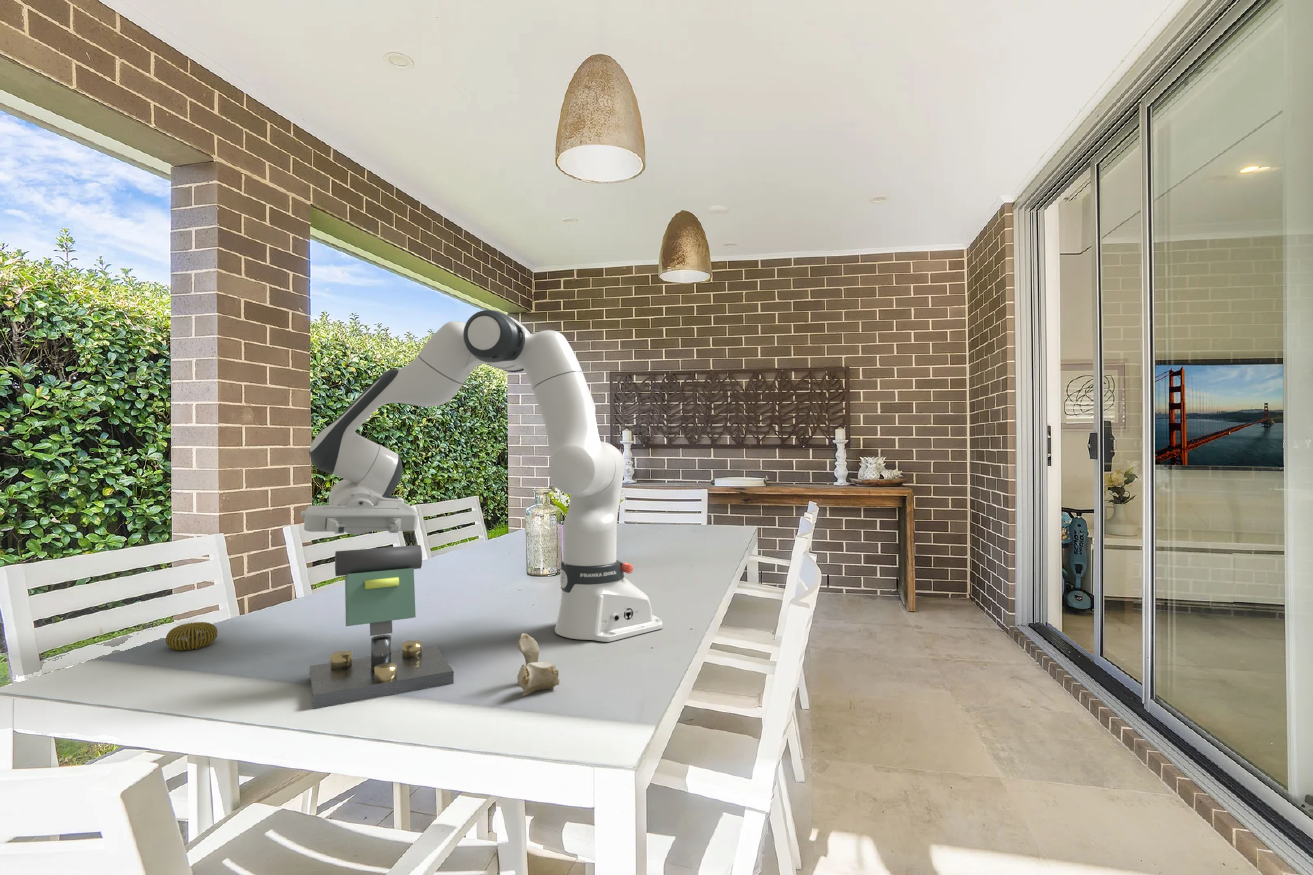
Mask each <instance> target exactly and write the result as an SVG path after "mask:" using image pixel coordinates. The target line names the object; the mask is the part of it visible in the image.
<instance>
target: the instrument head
mask: <svg viewBox="0 0 1313 875" xmlns="http://www.w3.org/2000/svg"><path fill="white" fill-rule="evenodd" d="M422 565H423V550H422V545H420V544H416V545H414V544H413V545H403V546H391V547H389V546H388V547H387V546H386V547H377V548H376V547H374V548H362V549H349V550H348V549H347V550H346V549H345V550H336V551H335V552H334V571H335V572H334V573H335V577H342V576H344V591H345V593H344V594H345V597H344V598H345V599H344V600H345V627H352V626H359V625H360V626H361V625H367V624H368V625H369V636H370V637H374V636H378V635H389V634H392V633H393V621H398V620H405V619H406V620H407V619H414V618H416V594H415V592H416V591H415V589H416V588H415V570H420V569H421V568H422V567H423V566H422Z"/></svg>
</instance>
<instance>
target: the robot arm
mask: <svg viewBox="0 0 1313 875" xmlns="http://www.w3.org/2000/svg"><path fill="white" fill-rule="evenodd" d="M484 364H485V365H486V364H487V366H490V367H492V368H495V369H498V370H501V371H503V372H504V371H505V372H509V373H520V372H525V373H526V375H527V378H528V380H529V383H530V385H531V389H532V391H533V395H534V396H535V400H536V402H537V404H538V408H539V411H540V413H541V417H542V419H543V422H544V425H545V430H546V434H547V436H546V437H547V440H548V441H547V443H548V448H549V455H550V461H549V464H548V465H549V466H548V474H549V478H550V480H551V483H552V484H553V486H554V487H555V488H556V489H557V490H558V491H561V493H564V494H566V495H570V499H569V500H570V501H569V505H568V509H567V512H566V515H565V518H564V521H563V525H562V561H561V562H560V572H559V573H560V575H559V578H560V579H559V583H560V589H561V596H560V598H561V599H560V604H559V611H558V616H557V620H556V625H555V627H554V632H555V634H557V635H559V636H560V637H564V638H568V639H571V640H572V639H574V640H587V641H589V640H591V641H598V642H605V643H606V642H607V643H609V642H614V641H617V640H621V639H625V638H629V637H634V636H638V635H641V634H644V633H645V634H646V633H650V632H653V631H657V630H660V629H663V628H664V625H663V624H664V623H663V621H662V619H661V618H659V617H658V616H656V615H654V614H653V610H652V605H651V601H650V598H649V596H648V595H647V594H646V593H645V592H644V591H642V590H641V589H640V588H639V587H637V586H635V585H634V584H633V583H632V582H630V581H629V580H628V579H627V578H625V574H624V573H626V574H628V575H629V574H631V573H633V572H634V565H632V564H633V563H632V564H631V563H628V562H624V563H623V562H621V561H619V560H618V559H617V549H618V548H617V542H618V541H617V534H618V532H617V528H618V517H619V516H618V515H619V511H620V505H621V504H620V503H621V498H622V491H623V490H622V489H623V481H624V476H625V473H626V468H627V467H626V465H627V463H626V460H625V457H624V455H623V453H622V452H621V451H620V450H619V449H618V448H617V447H615V446H614V445H612V443H609V442H606V441H601V438H600V434H599V430H598V425H597V424H598V423H597V419H596V412H597V411H596V410H597V409H596V405H595V402H594V398H593V395H592V394H591V391H590V388H589V386H588V383H587V380H586V377H585V375H584V373H583V372H584V371H583V369H582V367H581V365H580V363H579V360H578V358H577V355H576V353H575V352H574V350H573V348H572V346H571V345H570V343H569V342H568V340H567V338H566V336H564V335H563V334H562V333H560V332H559V331H556V330H551V329H546V330H545V329H544V330H541V331H538V332H535V333H533V332H532V331H531V330H530V329H529V328H527V327H525V326H524V324H521V323H520V322H519V321H518V320H517V319H515V318H513V317H511V316H509V315H507V314H506V313H504V312H501V311H499V310H496V309H495V310H494V309H484V310H480V311H477V312H475V313H473V315H471V316H470V317H469V318H468V320H467V321H466V323H465V322H461V321H456V320H451V321H448V322H446V323H444V324H443V325H442V326H441V327H440V328H439V329H438V330H437V331H436V332H435V333H434V334H433V335H432V337H430V338H429V339H428V341H427V342H426V343H425V344H424V346H423V347H422V348H421V349H420V351H419V353H418V354H417V355H416V356H415V358H414V359H413V360H412V361H411V362H410V363H409V364H406V365H405V366H403V367H401V368H398V369H396V368H390V369H388V370H386V371H385V372H383V373H382V374H381V375H379V376H378V377H377V378H376V379H375V380H374V381H373V382H372V383H371V384H370V385H368V387H367V388H366V389H364V390H363V392H361V394H360V395H358V397H357V398H355V400H354V401H353V402H352V403H351V404H349V405H348V407H347V408H346V409H345V410H344V411H343V412H342V413H341V414H340V415H339V416H338V417H336V419H334V420H333V421H332V422H331V423H330V424H329V425H328V426H326V427H325V428H324V429H323V430H321V431H320V432H319V433H318V434H317V435H316V437H315V438H314V439H313V441H312V442H311V444H310V448H309V450H308V454H309V457H310V460H311V461H312V464H313V466H314V467H315V469H317V470H319V471H322V472H325V473H327V474H330V475H335V476H337V477H339V478H342V479H341V480H339V481H338V482H337V483H335V484H334V485H333V486H332V488H331V489H330V492H329V496H328V504H327V505H326V504H325V505H320V504H319V505H309V506H308V507H307V508H306V509H305V510H301V511H300V517H301V519H304V522H303V523H304V524H303V529H304V531H306V532H312V533H317V532H318V533H319V532H320V533H321V532H322V533H324V532H325V533H326V532H328V533H329V532H330V533H331V532H332V533H333V532H334V534H338V535H339V534H345V533H347V534H349V535H355V536H356V535H363V534H367V533H371V532H389V534H398V533H399V532H412V531H415V530H417V528H418V519H419V518H418V516H419V515H418V512H417V510H416V509H415V508H414V507H413V506H412V505H410V504H408V503H406V502H405V501H404V498H403V497H401V496H400V497H399V496H396V495H394V496H393V495H392V494H393V492H394V491H395V490H396V489H397V487H398V485H399V482H400V481H401V478H402V475H403V464H402V459H401V456H400V455H399V453H396V452H395V451H392V450H391V449H390V448H387V447H385V446H383V445H382V444H380V443H379V444H378V443H376V442H374V441H373V440H370V439H368V438H366V437H364V436H362V435H360V434H358V433H357V432H356V431H357V430H358V429H360V427H361V426H362V425H363V424H364V423H365V422H366V421H367V420H368V419H369V418H370V417H371V416H372V415H374V413H375V412H376V411H377V410H378V409H379V408H380V407H382V406H384V405H387V404H406V405H412V406H418V407H425V408H426V407H428V408H431V407H438V406H442V405H444V404H447V403H448V402H450V401H451V400H452V399H454V397H455V396H456V395H457V393H458V392H459V391H460V389H461V388H462V386H463V385H464V384H465V382H466V380H467V379H468V378H469V376H470V375H471V373H472V372H473V371H474V370H475V369H476V368H477V367H478V366H480V365H484Z"/></svg>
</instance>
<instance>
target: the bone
mask: <svg viewBox="0 0 1313 875" xmlns="http://www.w3.org/2000/svg"><path fill="white" fill-rule="evenodd" d="M517 647H518V651H519V652H520V653H521V654H522V655H523V657H524V661H525V664H521V666H520V669H519V672H518V674H517V683H518V685H519V687H520V688H521V690H523V691H524V692H523V693H522V696H528V695H530V694H532V693H534V692H536V691H535V690H537V691H539V690H538V689H541V690H548V689H550V688H552V689H553V690H554V689H555V687H556V686H559V685H560V678H559V673H560V672H559V669H556V664H555V663H554V664H553V663H551V660H547V661H539V657H540V656H539V655H540V648H539V644H538V642H537V641H536V640H535V638H533V637H532V636H530V635H529V634H527V633H521V634H520V637H519V639H518V642H517ZM547 688H548V689H547ZM531 692H532V693H531ZM529 693H530V694H529ZM527 694H528V695H527Z"/></svg>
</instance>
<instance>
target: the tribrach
mask: <svg viewBox="0 0 1313 875" xmlns="http://www.w3.org/2000/svg"><path fill="white" fill-rule="evenodd" d="M454 672H455V670H454V669H453V668H452V667H451V665H450V664H449V662H448V660H446V658H445V657H444V655H443V654H442V652H440V650H439V648H438V647H437V646H433V647H426V648H425V647H424V648H423V642H422V641H421V640H417V639H415V640H414V639H413V640H408V641H407V640H406V641H404V642H402V645H401V652H400V651H399V652H392V636H391V635H389V634H382V635H374V636H371V638H370V656H366V657H359V658H353V651H352V650H338V651H335V652H332V653H331V654H330V662H327V663H320V664H313V665H309V682H310V683H309V684H310V693H311V703H312V709H319V708H324V707H330V706H336V705H340V704H341V705H342V704H348V703H352V702H357V701H364V700H370V699H375V698H379V697H386V696H391V695H390V694H392V695H396V694H395V693H397V694H401V693H408V692H413V691H419V690H424V689H428V688H429V689H430V688H436V687H441V686H447V685H452V684H455V683H454V682H455V681H454V680H455V679H454V678H455V676H454V674H455V673H454Z"/></svg>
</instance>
